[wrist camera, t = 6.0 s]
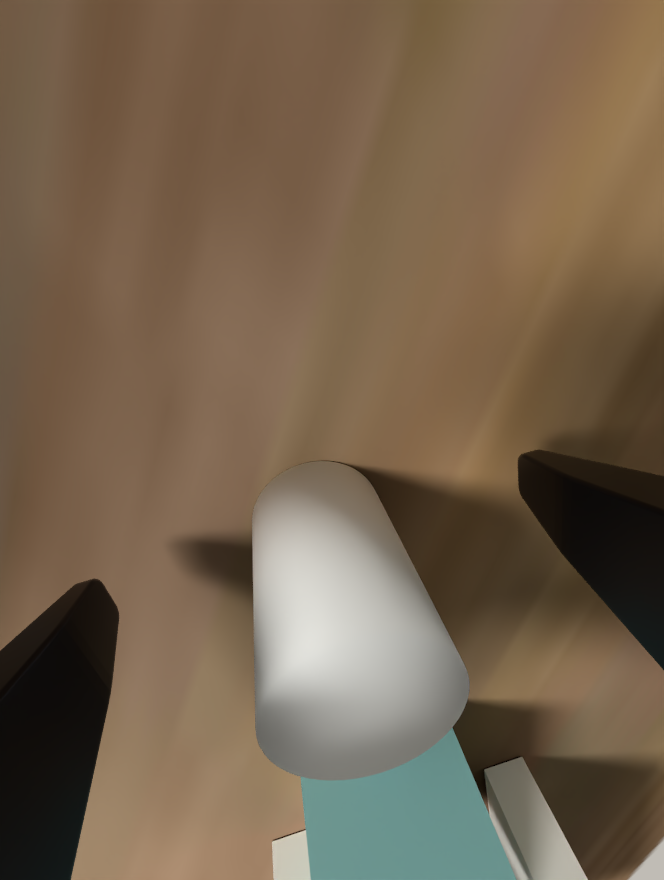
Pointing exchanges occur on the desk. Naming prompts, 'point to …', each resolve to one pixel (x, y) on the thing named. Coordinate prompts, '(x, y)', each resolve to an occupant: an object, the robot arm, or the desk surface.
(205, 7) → the desk surface
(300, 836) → the white box
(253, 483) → the desk surface
